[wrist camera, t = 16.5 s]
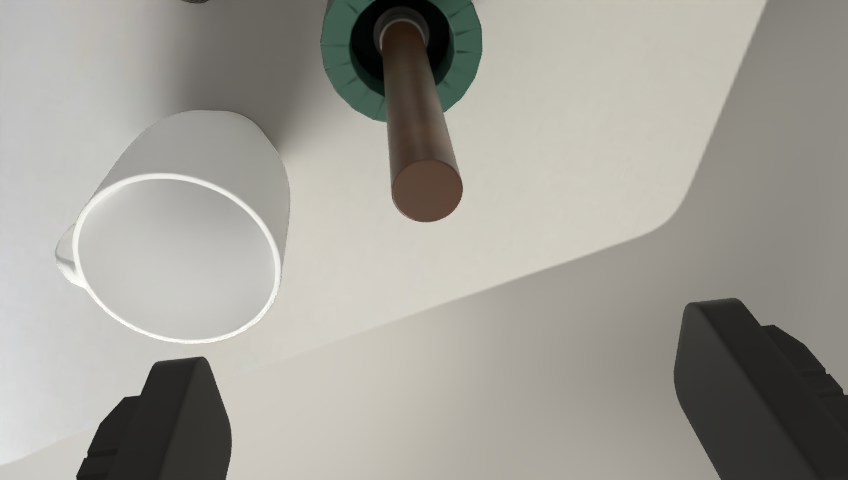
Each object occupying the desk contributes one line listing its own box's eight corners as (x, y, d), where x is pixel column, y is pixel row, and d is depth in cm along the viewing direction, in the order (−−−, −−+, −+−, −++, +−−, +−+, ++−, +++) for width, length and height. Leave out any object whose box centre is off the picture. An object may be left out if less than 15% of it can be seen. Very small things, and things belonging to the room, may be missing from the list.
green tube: (454, -72, 33) (478, -47, 26) (461, 60, 36) (484, 116, 29) (321, -59, 33) (307, -29, 26) (341, 73, 36) (335, 132, 29)
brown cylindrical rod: (418, -23, 33) (476, 138, 16) (423, 28, 35) (480, 230, 17) (368, -17, 33) (369, 150, 16) (374, 33, 35) (381, 241, 17)
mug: (266, 58, 36) (226, 147, 25) (326, 193, 40) (311, 314, 30) (74, 122, 37) (-39, 232, 27) (153, 246, 41) (83, 380, 31)
